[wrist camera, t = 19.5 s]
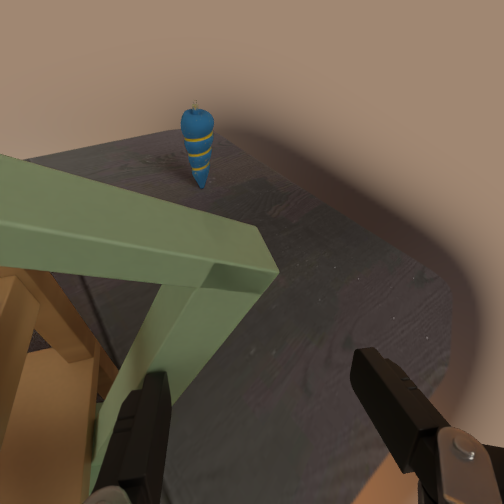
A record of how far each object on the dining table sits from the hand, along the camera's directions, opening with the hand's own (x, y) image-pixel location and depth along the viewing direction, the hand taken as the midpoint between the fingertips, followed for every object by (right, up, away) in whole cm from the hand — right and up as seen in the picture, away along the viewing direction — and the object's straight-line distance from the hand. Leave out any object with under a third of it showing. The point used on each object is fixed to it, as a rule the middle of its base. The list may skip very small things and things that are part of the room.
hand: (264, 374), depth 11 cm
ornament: (-10, +17, +39) cm, 43 cm away
